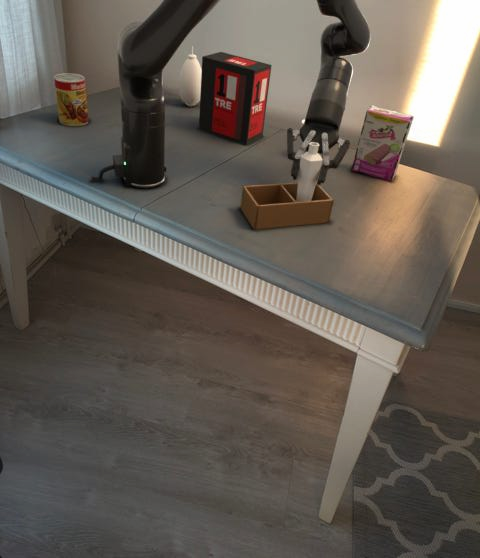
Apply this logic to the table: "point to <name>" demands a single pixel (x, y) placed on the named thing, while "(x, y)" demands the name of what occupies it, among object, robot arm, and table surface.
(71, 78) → the canned food
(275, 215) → the divided tray
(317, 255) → the table surface
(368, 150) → the candy bar box
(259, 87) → the cleaning product box
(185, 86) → the sauce bottle
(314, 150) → the perfume bottle
